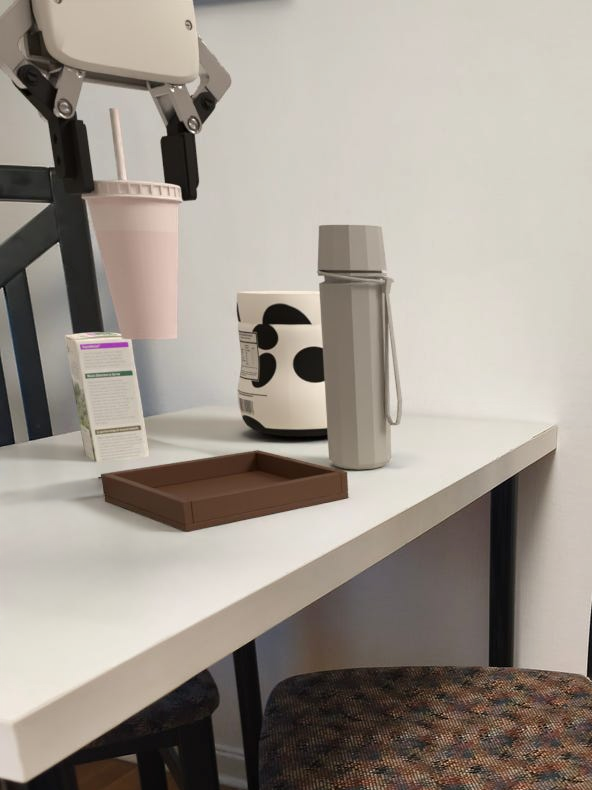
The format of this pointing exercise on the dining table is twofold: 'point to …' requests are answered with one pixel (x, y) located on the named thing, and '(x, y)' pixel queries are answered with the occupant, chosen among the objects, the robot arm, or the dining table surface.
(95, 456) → the syrup box
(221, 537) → the dining table surface
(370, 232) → the water bottle
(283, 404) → the milk container
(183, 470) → the tray
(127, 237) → the smoothie
